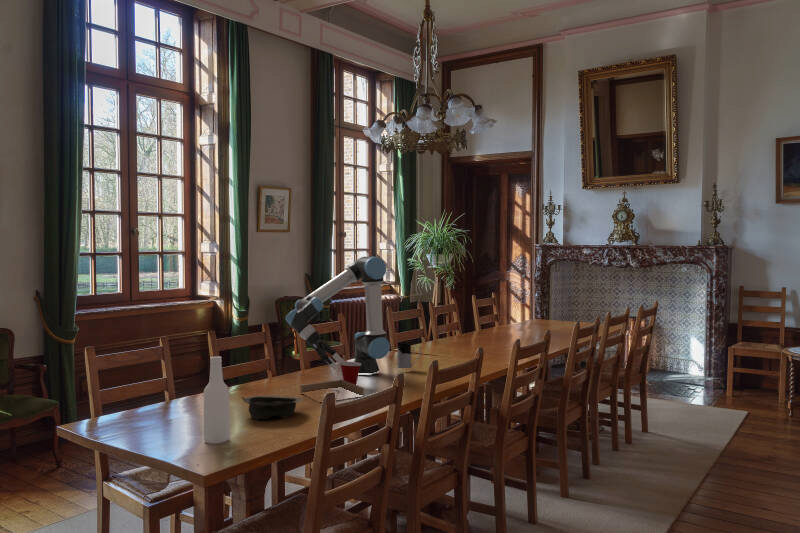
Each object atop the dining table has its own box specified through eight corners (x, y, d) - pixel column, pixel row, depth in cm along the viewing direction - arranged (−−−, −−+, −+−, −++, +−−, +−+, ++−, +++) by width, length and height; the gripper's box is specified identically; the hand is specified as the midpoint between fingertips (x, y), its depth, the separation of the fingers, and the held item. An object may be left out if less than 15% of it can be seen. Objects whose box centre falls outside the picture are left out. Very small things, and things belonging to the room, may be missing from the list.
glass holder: (394, 370, 361) (394, 343, 361) (418, 368, 366) (418, 342, 365) (399, 372, 353) (399, 346, 353) (423, 371, 357) (423, 344, 357)
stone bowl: (243, 425, 247) (243, 401, 247) (242, 414, 271) (241, 392, 271) (307, 419, 253) (306, 396, 254) (300, 409, 278) (299, 388, 278)
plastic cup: (364, 387, 315) (364, 363, 315) (343, 389, 311) (343, 365, 311) (357, 383, 325) (357, 360, 325) (337, 385, 321) (337, 361, 321)
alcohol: (232, 437, 232) (231, 354, 231) (226, 444, 223) (225, 358, 222) (207, 437, 232) (206, 355, 231) (201, 444, 223) (199, 359, 222)
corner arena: (341, 388, 313) (341, 379, 313) (363, 397, 295) (363, 387, 294) (300, 394, 301) (300, 384, 301) (320, 403, 283) (320, 393, 283)
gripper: (312, 337, 332) (340, 366, 331) (298, 344, 308) (328, 375, 306) (322, 327, 331) (350, 356, 330) (308, 333, 307) (339, 365, 305)
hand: (339, 366), depth 318 cm, fingers open, 13 cm apart
